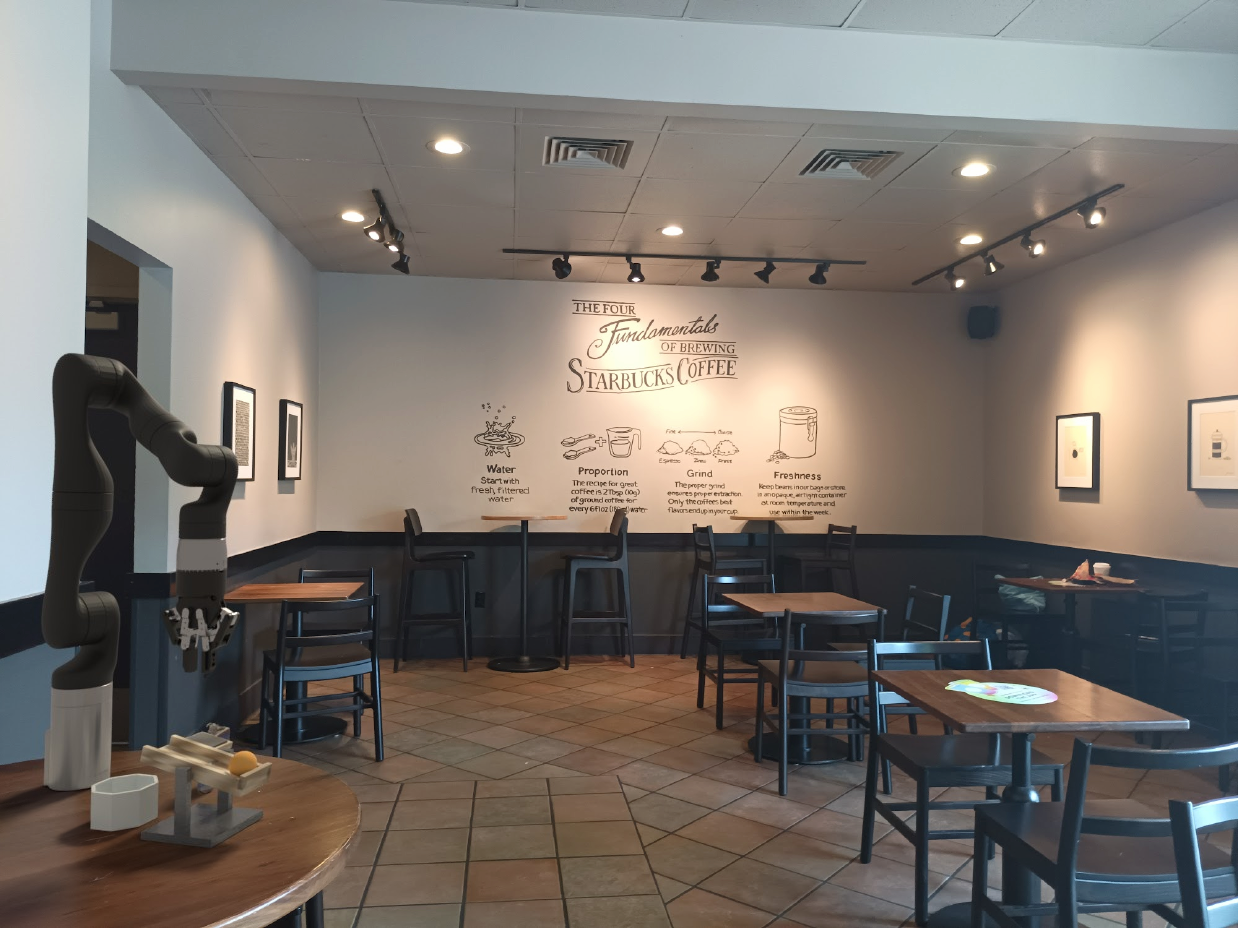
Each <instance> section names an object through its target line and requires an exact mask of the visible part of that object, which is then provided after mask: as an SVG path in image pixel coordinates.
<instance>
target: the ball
mask: <svg viewBox="0 0 1238 928" xmlns="http://www.w3.org/2000/svg"><path fill="white" fill-rule="evenodd" d="M257 763H258V759H257V756H255V754H254V753H252V752H251V751H248V750H242V751H238V752H236V753H235V754H234V756H233V757H232V758H231V760H230V762H229V772H230V773H231V774H233V775H236V776H239V777H240V775H242V774H244V773H246V772H249V771H251V770H253V769H255V768H257Z"/></svg>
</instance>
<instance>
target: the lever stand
mask: <svg viewBox="0 0 1238 928" xmlns="http://www.w3.org/2000/svg"><path fill="white" fill-rule="evenodd" d="M220 750H222V751H225V752H228V753H231V754H234V753H235V752H234V748H230V749H227V748H222V749H220ZM234 755H235V754H234ZM174 776H175V777H174V807H173V808H174V809H173V815H171V816H169V817H168V818H165V819H163V820H161V821H158V823H156V824H153V825H151V826H149V827H147V828H146V829H143V830H142V831H140V840H141V841H150V842H159V843H165V844H172V845H173V844H175V845H182V846H191V847H199V848H206V849H212V848H214V847H215V846H217V845H219V844H220V843H222V842H224V841H225V840H227V839H229V838H230V837H233V836H234V835H236V834H237V833H240V832H241V831H243V830H244V829H246V828H247V827H250V826H252V824H255V823H257V822H258V821H260V820H261V819H263V818H264V809H258V808H251V807H248V808H247V807H241V806H240V807H238V806H233V801H234V800H233V798H234V797H233V796H234V795H233V794H230V793H227V792H225V791H222V790H219V789H217V796H216V797H217V800H216V802H217V803H216V804H210V803H201V802H197V803H195V804H193V805H192V781H193V780H192V768H191V767H181V766H180V767H178V768H175V774H174Z"/></svg>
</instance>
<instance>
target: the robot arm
mask: <svg viewBox="0 0 1238 928" xmlns="http://www.w3.org/2000/svg"><path fill="white" fill-rule="evenodd" d="M51 383H52V384H51V394H52V395H51V396H52V409H53V410H52V411H53V426H54V427H53V428H54V430H53V431H54V461H53V462H54V464H53V478H52V490H51V491H52V493H51V515H50V517H51V520H50V523H51V525H50V526H51V527H50V546H49V559H48V569H47V577H46V581H45V588H44V596H43V599H42V600H43V601H42V602H43V603H42V609H41V622H40V623H41V632H42V636H43V639H44V641H45V643H46V644H47V645H48V646H49V647H50V648H52V649H55V650H62V649H70V648H71V649H72V648H77V647H80V649H79V651H78V652H77V653H76V655H75V656H74V657H73V658H71V659H70V660H69V661H67V662H64V664H61V665H60V666H59V667H57V668H56V669H54V670H53V672H52V674H51V682H50V684H51V685H50V689H51V691H50V692H51V693H50V728H48V729H46V730H45V733H44V765H43V766H44V768H43V770H44V771H43V786H48V788H49V789H51V790H53V791H59V792H61V791H62V792H63V791H64V792H65V791H66V792H67V791H68V792H69V791H77V790H78V791H79V790H84V789H89V788H90V789H91V785H93V784H96V783H98V782H101V781H103V780H106V779H108V778H111V762H112V761H111V759H112V758H111V757H112V730H113V729H112V728H113V727H112V726H113V725H112V723H113V721H112V720H113V683H114V682H113V679H114V673H115V672H114V671H115V669H116V666H117V664H118V653H119V652H118V651H119V639H120V630H121V629H120V627H121V611H120V606H119V603H118V601H117V599H116V598H115V596H114V595H113V594H112V593H110V592H107V591H103V590H102V591H101V590H100V591H99V590H98V591H90V592H79V591H80V584H81V583H80V582H81V579H82V573H83V571H84V568H85V565H86V562H87V561H88V559H89V557H90V556H91V554H92V553H93V551H94V550H95V548H96V546H97V545H98V543H100V541H101V539H102V538H103V536H104V535H105V534H106V532H107V530H108V528H109V526H111V525H110V524H111V523H112V518H113V514H114V513H113V512H114V497H115V495H114V491H115V490H114V489H115V488H114V487H115V485H114V481H113V477H112V475H111V473H110V470H109V468H108V467H107V465H106V463H105V461H104V460H103V458H102V456H101V455H100V453H99V452H98V450H97V448H96V446H95V444H94V442H93V440H92V438H91V433H90V428H89V420H88V419H89V417H88V416H89V415H88V413H89V412H88V408H91V409H102V410H104V409H110V410H114V411H116V412H118V413H120V414H122V415H124V416H126V417H127V418H128V426H129V427H128V428H129V430H130V432H131V435H132V436H133V437H134V439H135V440H136V441H137V442H138V443H139V444H140V446H142V447H143V448H144V449H146V450H147V451H148V452H150V453H151V454H152V455H153V456H154V457H157V459H158V461H159V463H160V465H161V466H162V468H163V470H164V471H165V473H166V475H167V476H168V477H169V479H170V480H172V481H173V482H174V483H176V484H178V485H180V486H183V487H186V488H202V490H201V492H200V495H199V498H197V499H196V500H194V501H190V502H188V503H184V504H183V505H181V507H180V510H179V512H178V513H179V515H178V543H177V549H176V555H175V559H176V560H175V562H176V563H175V595H176V596H177V597H178V598H177V602H176V603H175V607H173V608H171V609H167V610H163V611H162V612H161V615H160V616H161V618H162V620H163V624H164V626H165V629H166V631H167V635H168V637H169V639H170V642H171V644H172V646H178V647H180V648H181V649H182V668H183V671H184V673H187V674H191V673H194V672H196V671H197V670H198V666H199V665H198V662H199V661H198V660H199V658H198V657H199V648H198V647H197V646H198V642H199V637H200V638H201V643H202V644H201V645H202V651H201V670H200V672H201V674H202V675H203V674H204V675H208V674H211V673H214V671H215V669H216V667H217V660H218V659H217V658H218V657H217V655H218V652H217V651H218V649H219V648H221V647H225V646H227V645H229V643H230V641H231V638H232V637H233V634H234V632H235V629H236V627H237V625H238V623H239V620H240V619H241V614H240V612H239V611H235V612H233V611H232V610H230V609H229V608H227V604H226V601H225V595H226V593H227V585H228V582H227V579H228V547H227V514H228V510H229V508H230V507H229V506H230V504H231V501H232V497H233V494H234V491H235V487H236V484H237V481H238V476H239V462H238V459H237V456H236V454H235V452H234V451H233V450H232V449H231V448H229V447H228V446H224V445H219V444H201V443H200V444H199V443H198V437H197V436H196V435H197V434H196V433H195V432H194V431H193V430H192V428H191V427H189V426H188V425H187V424H186V423H185V422H183V421H182V420H180V419H179V418H178V417H176V416H175V415H173V414H172V412H169V410H167V409H166V408H164V407H163V406H162V405H161V404H160V403H159V402H158V401H157V399H155V398H154V396H152V395H151V393H150V392H149V391H148V390H147V389H146V387H144V386H143V384H142V383H141V382H140V381H139V380H138V378H137V377H136V376H135V375H134V373H133V372H132V371H131V370H130V369H129V368H128V367H127V365H124V364H123V363H122V362H121V361H119V360H117V359H114V358H110V357H103V356H96V355H91V354H90V355H89V354H83V353H76V352H67V353H64V354H63V355H61V356H60V357H59V359H58V360H57V361H56V363H55V366H54V369H53V373H52V381H51Z"/></svg>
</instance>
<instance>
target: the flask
mask: <svg viewBox="0 0 1238 928" xmlns="http://www.w3.org/2000/svg"><path fill="white" fill-rule="evenodd" d="M208 726H209V729H208V730H207V733H208V734H211V735H214V736H217V737H220V738H223V739H226V740H229V741H231V740H230V737H231V736H230V735H231V728H230V727H227V726H219V724H216V723H215V722H214V723H212V722H209V723H207V724H206V728H208ZM214 790H215V788H213V787H210V786H208V785H205V784H202V783H199V782H197V787H196V792H197V794H200V795H202V794H208V793H209V792H213V791H214Z"/></svg>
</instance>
